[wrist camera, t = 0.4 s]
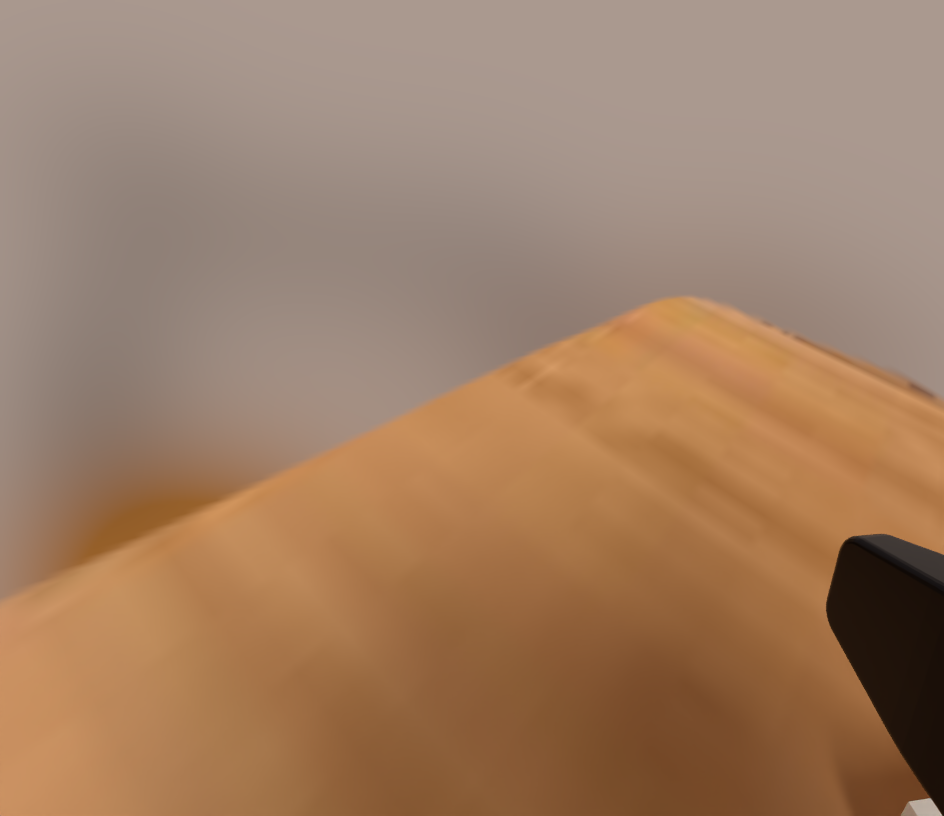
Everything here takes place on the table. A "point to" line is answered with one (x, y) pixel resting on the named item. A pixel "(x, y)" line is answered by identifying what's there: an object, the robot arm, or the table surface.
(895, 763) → the table surface
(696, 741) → the table surface
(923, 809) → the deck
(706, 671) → the table surface
